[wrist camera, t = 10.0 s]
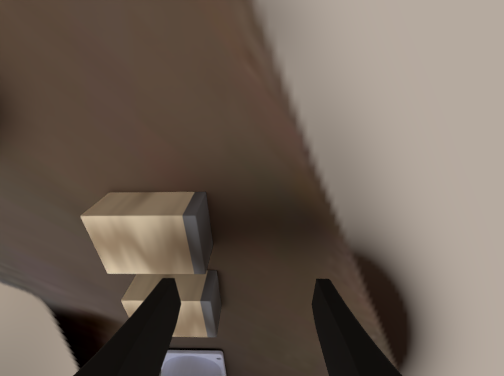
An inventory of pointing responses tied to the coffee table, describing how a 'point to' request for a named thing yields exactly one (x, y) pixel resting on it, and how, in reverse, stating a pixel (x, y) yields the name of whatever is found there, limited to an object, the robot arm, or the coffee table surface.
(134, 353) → the robot arm
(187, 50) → the coffee table surface
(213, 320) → the beech tile
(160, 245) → the beech tile
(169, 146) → the coffee table surface
